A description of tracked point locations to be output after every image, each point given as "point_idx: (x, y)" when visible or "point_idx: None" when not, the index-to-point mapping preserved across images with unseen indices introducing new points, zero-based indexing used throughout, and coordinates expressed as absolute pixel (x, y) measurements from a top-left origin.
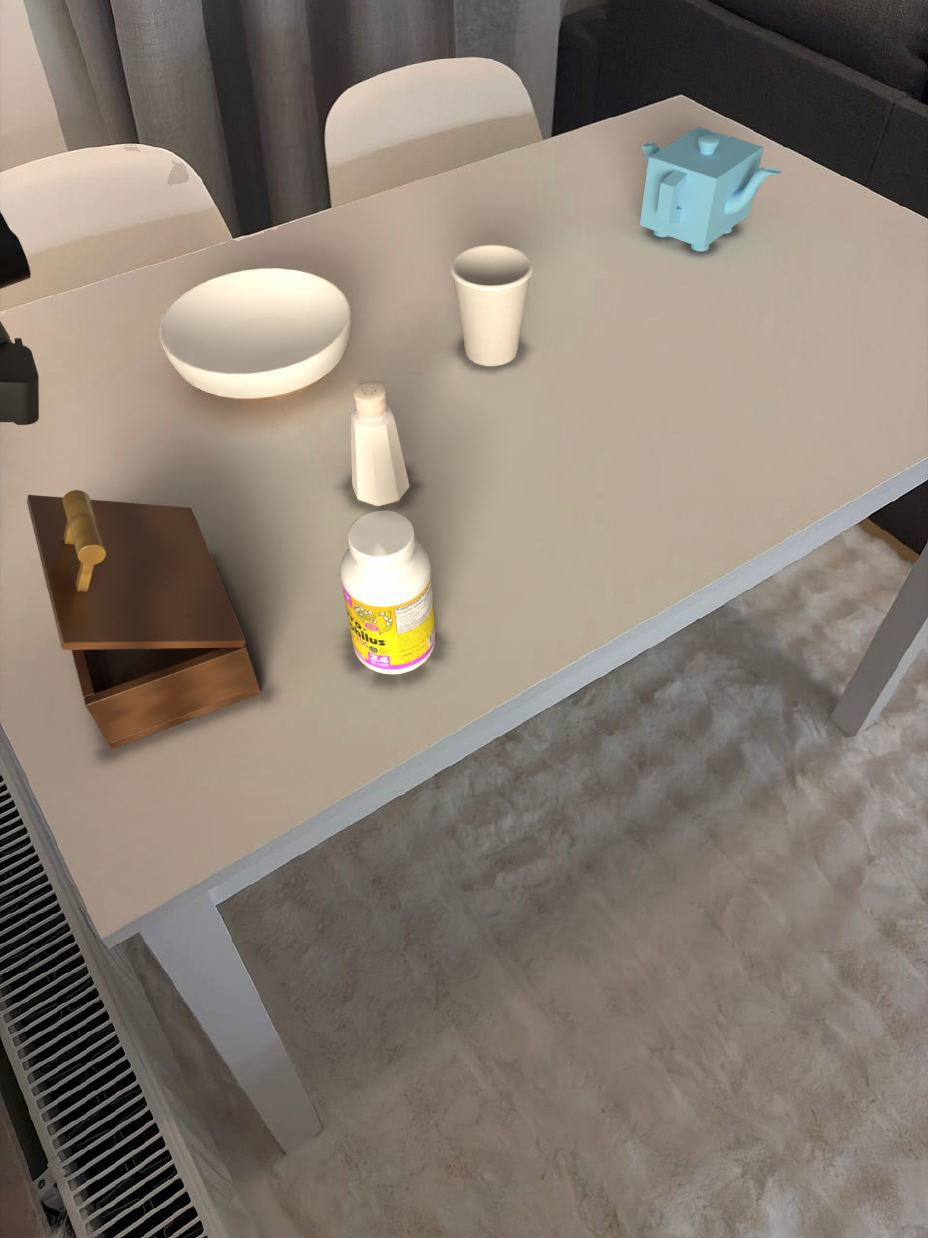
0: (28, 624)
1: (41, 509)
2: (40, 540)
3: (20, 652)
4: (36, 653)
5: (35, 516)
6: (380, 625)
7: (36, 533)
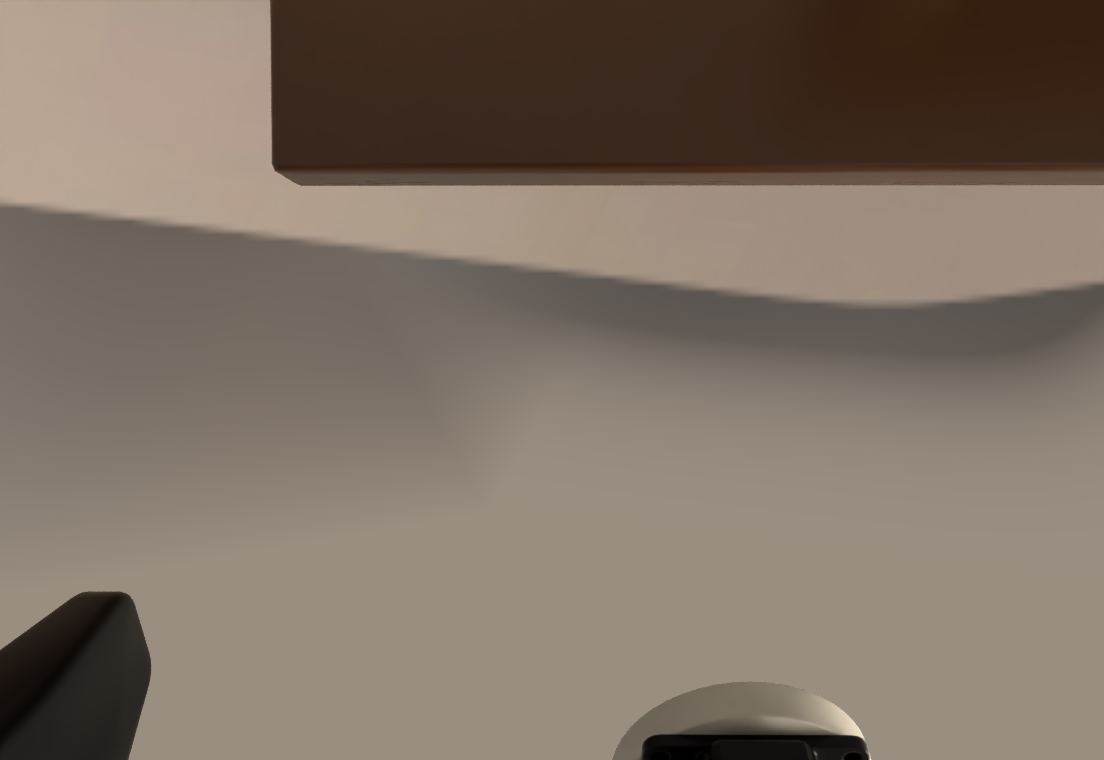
0: (469, 195)
1: (497, 79)
2: (991, 159)
3: (600, 241)
4: (635, 189)
5: (624, 152)
6: None
7: (852, 176)
